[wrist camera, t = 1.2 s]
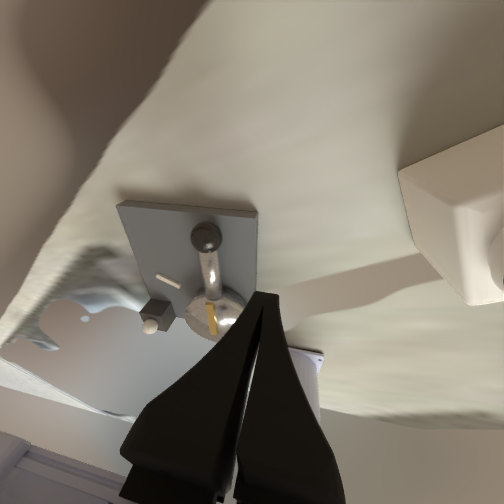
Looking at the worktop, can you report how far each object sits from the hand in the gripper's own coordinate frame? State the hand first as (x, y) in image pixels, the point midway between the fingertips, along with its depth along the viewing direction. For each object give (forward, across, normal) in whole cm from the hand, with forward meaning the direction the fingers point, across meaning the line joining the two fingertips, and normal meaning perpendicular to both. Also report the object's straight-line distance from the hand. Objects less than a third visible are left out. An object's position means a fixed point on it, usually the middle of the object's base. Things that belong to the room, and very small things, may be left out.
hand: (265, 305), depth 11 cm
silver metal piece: (+8, +6, +6) cm, 12 cm away
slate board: (+10, +9, +6) cm, 15 cm away
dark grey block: (+8, +15, +13) cm, 21 cm away
